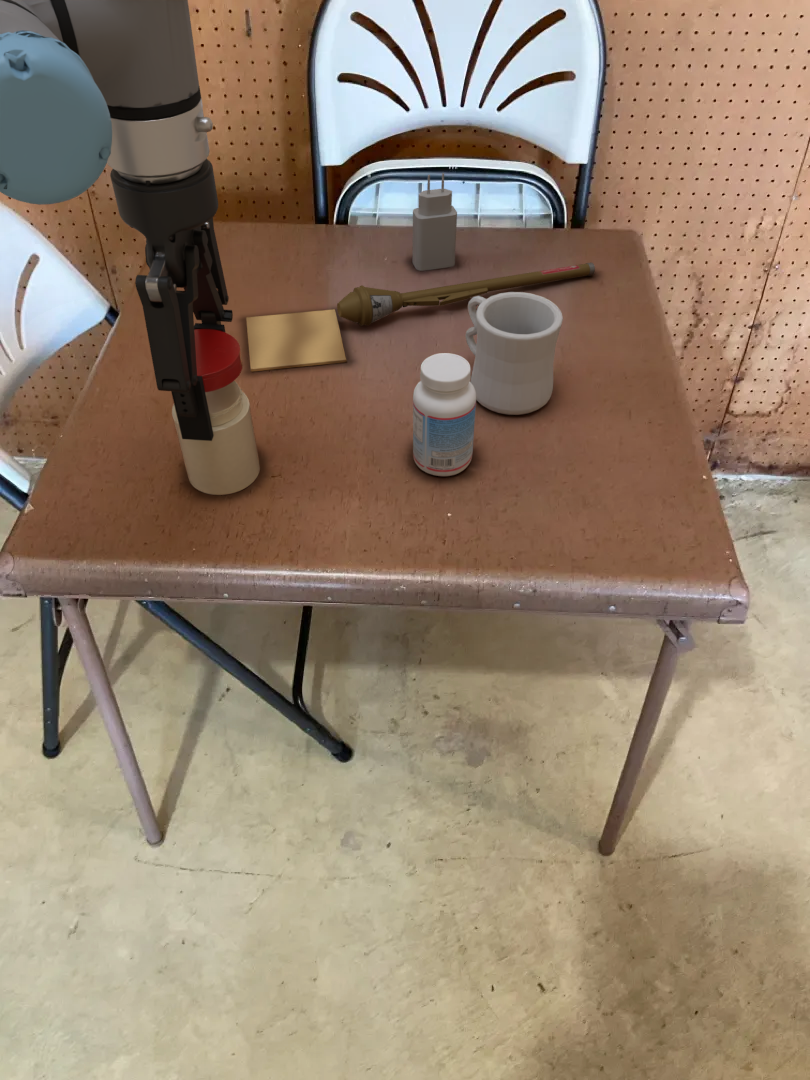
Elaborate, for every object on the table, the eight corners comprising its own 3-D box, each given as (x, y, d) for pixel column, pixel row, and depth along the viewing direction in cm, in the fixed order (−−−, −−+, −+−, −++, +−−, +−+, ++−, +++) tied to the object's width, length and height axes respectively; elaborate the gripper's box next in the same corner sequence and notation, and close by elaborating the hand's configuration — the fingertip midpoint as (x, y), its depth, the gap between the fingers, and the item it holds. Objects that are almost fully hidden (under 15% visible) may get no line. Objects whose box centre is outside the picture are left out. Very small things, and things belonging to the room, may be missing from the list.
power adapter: (411, 260, 114) (411, 171, 105) (449, 255, 115) (453, 166, 106) (417, 271, 112) (418, 181, 103) (456, 266, 113) (460, 176, 104)
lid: (217, 336, 79) (214, 319, 78) (259, 372, 75) (256, 355, 74) (144, 364, 76) (140, 347, 75) (184, 404, 72) (180, 386, 71)
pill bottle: (482, 452, 87) (490, 360, 78) (452, 486, 83) (458, 394, 75) (432, 432, 89) (435, 341, 81) (401, 464, 85) (400, 372, 77)
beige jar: (187, 499, 82) (167, 422, 75) (187, 451, 87) (169, 375, 80) (262, 490, 83) (249, 413, 76) (258, 443, 87) (245, 367, 81)
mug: (568, 397, 93) (582, 318, 86) (507, 429, 89) (516, 348, 82) (494, 347, 100) (501, 269, 92) (434, 374, 96) (437, 295, 89)
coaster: (250, 371, 96) (250, 369, 96) (246, 320, 104) (246, 317, 103) (346, 362, 98) (346, 359, 97) (335, 311, 105) (335, 309, 105)
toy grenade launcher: (578, 274, 114) (595, 294, 111) (332, 314, 104) (345, 337, 101) (587, 242, 110) (605, 262, 108) (333, 281, 100) (346, 304, 97)
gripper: (172, 228, 55) (223, 485, 72) (240, 114, 69) (269, 351, 86) (60, 223, 56) (136, 479, 72) (151, 110, 70) (197, 347, 86)
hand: (209, 409), depth 79 cm, fingers closed on lid, 7 cm apart
